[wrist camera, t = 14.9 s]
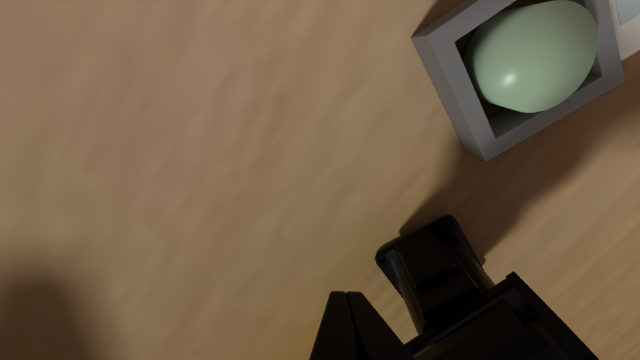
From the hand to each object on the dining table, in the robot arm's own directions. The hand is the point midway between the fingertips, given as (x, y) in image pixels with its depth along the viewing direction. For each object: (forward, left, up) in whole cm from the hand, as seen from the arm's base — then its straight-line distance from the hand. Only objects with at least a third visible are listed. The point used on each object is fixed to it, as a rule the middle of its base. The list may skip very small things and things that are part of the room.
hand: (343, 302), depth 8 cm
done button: (-1, -12, -12) cm, 17 cm away
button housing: (-1, -12, -12) cm, 17 cm away
